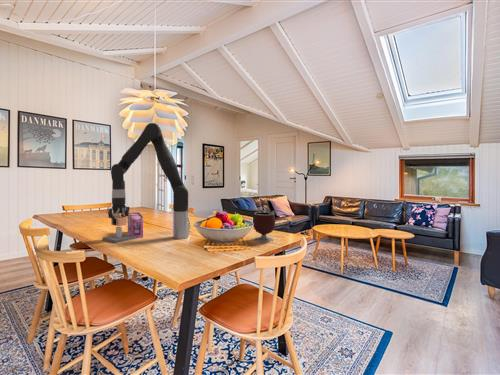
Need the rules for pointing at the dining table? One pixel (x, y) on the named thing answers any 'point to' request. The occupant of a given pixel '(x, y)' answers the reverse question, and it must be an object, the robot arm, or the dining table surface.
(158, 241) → the dining table surface
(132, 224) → the gum box
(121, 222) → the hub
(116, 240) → the board
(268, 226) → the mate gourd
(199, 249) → the dining table surface
